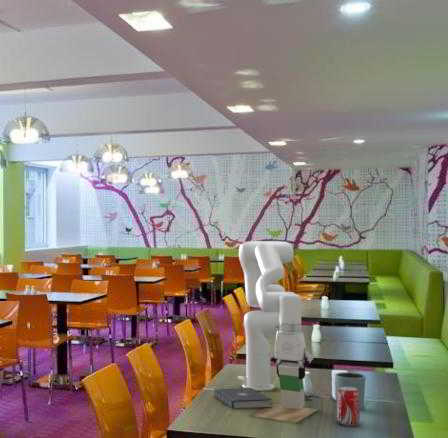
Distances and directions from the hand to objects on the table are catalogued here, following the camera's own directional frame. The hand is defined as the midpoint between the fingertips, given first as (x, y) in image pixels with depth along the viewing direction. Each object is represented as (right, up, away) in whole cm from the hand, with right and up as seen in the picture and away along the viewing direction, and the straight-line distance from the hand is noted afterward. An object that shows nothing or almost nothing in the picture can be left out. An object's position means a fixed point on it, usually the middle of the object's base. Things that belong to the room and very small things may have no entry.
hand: (290, 377), depth 279 cm
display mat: (-4, -12, -5) cm, 13 cm away
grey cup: (+23, -12, +4) cm, 26 cm away
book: (-14, -12, +12) cm, 22 cm away
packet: (-1, -4, -1) cm, 4 cm away
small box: (+25, -12, +18) cm, 33 cm away
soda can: (+13, -12, -19) cm, 26 cm away
